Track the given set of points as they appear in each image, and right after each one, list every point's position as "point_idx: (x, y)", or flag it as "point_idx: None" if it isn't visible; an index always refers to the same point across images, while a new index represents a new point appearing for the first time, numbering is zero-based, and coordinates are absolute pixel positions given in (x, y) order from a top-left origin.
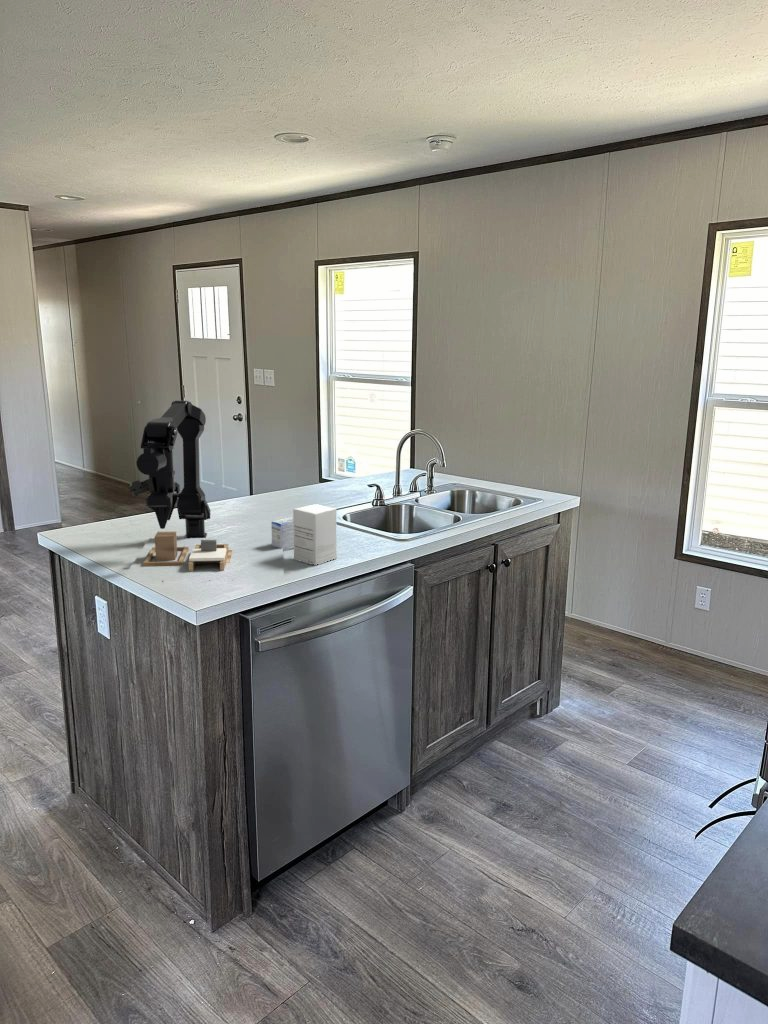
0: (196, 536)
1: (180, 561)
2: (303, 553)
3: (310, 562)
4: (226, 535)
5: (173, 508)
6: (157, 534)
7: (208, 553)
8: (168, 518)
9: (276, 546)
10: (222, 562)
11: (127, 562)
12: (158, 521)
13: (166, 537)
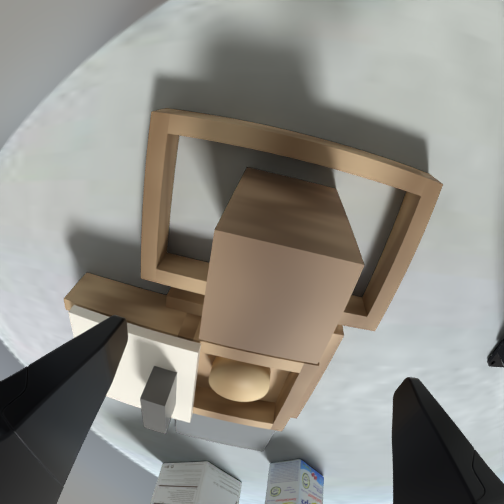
0: (502, 351)
1: (152, 275)
2: (180, 477)
3: (170, 465)
4: (481, 401)
5: (394, 493)
6: (274, 255)
7: (128, 375)
8: (397, 402)
9: (284, 469)
10: None
11: (328, 35)
12: (58, 348)
13: (205, 298)
